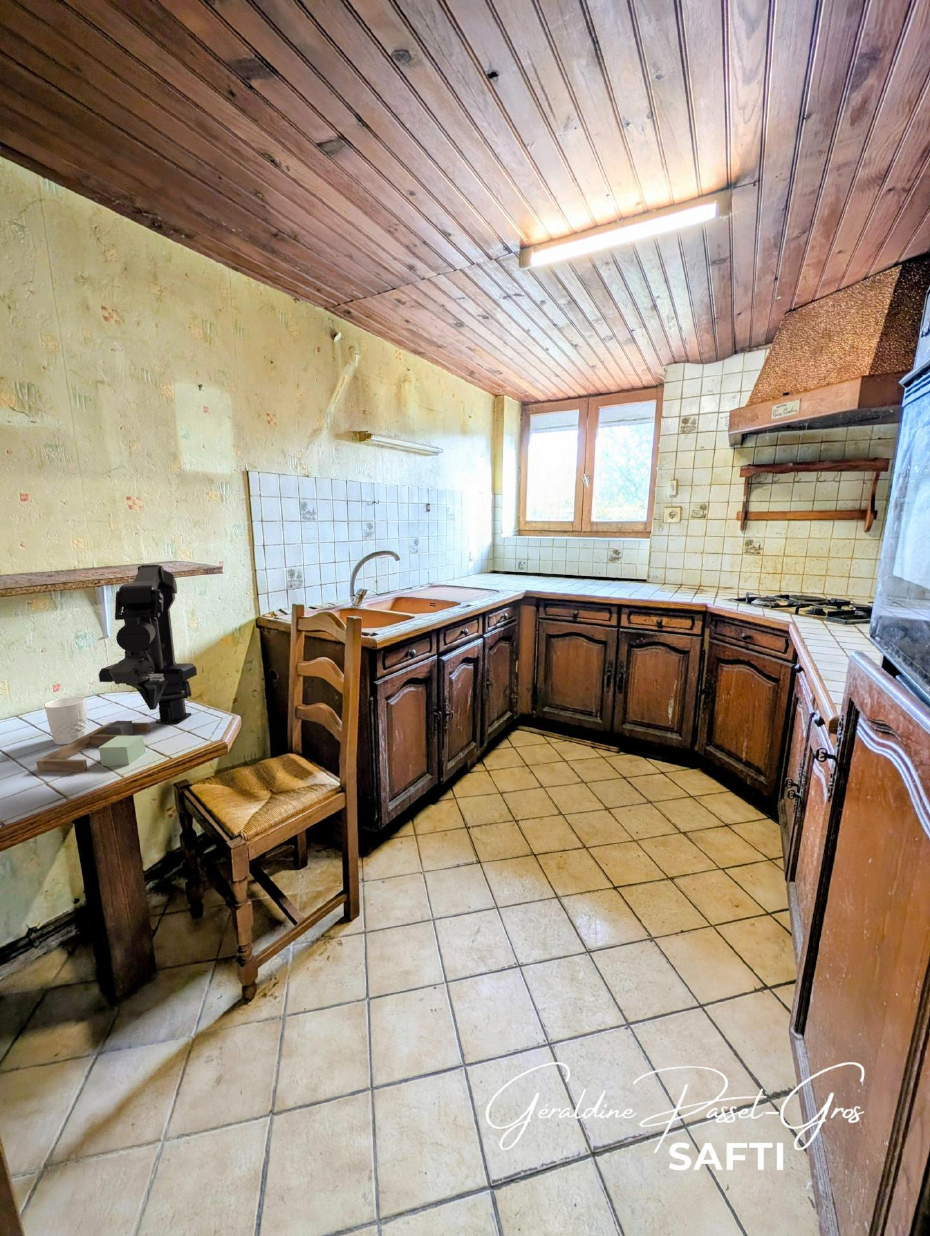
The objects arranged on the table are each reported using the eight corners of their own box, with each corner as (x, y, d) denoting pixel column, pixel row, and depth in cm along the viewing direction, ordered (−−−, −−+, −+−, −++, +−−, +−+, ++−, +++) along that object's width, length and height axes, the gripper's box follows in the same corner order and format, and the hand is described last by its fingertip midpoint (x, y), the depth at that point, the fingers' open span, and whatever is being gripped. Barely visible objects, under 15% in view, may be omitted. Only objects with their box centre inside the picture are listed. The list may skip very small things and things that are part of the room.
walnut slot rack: (111, 730, 125) (109, 722, 124) (149, 731, 124) (148, 722, 124) (37, 771, 104) (36, 761, 103) (84, 771, 104) (82, 761, 103)
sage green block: (119, 753, 112) (117, 736, 111) (145, 753, 113) (143, 735, 112) (101, 766, 106) (98, 747, 106) (129, 765, 107) (126, 747, 106)
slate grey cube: (118, 735, 122) (116, 720, 121) (133, 735, 122) (131, 720, 121) (106, 742, 118) (104, 727, 117) (122, 742, 118) (120, 727, 117)
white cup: (86, 730, 125) (80, 693, 123) (95, 738, 120) (89, 700, 118) (47, 740, 119) (41, 702, 117) (55, 749, 114) (48, 710, 112)
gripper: (72, 650, 97) (83, 723, 99) (162, 650, 96) (171, 723, 99) (113, 638, 108) (122, 704, 110) (194, 638, 107) (201, 704, 110)
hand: (153, 709), depth 107 cm, fingers closed
